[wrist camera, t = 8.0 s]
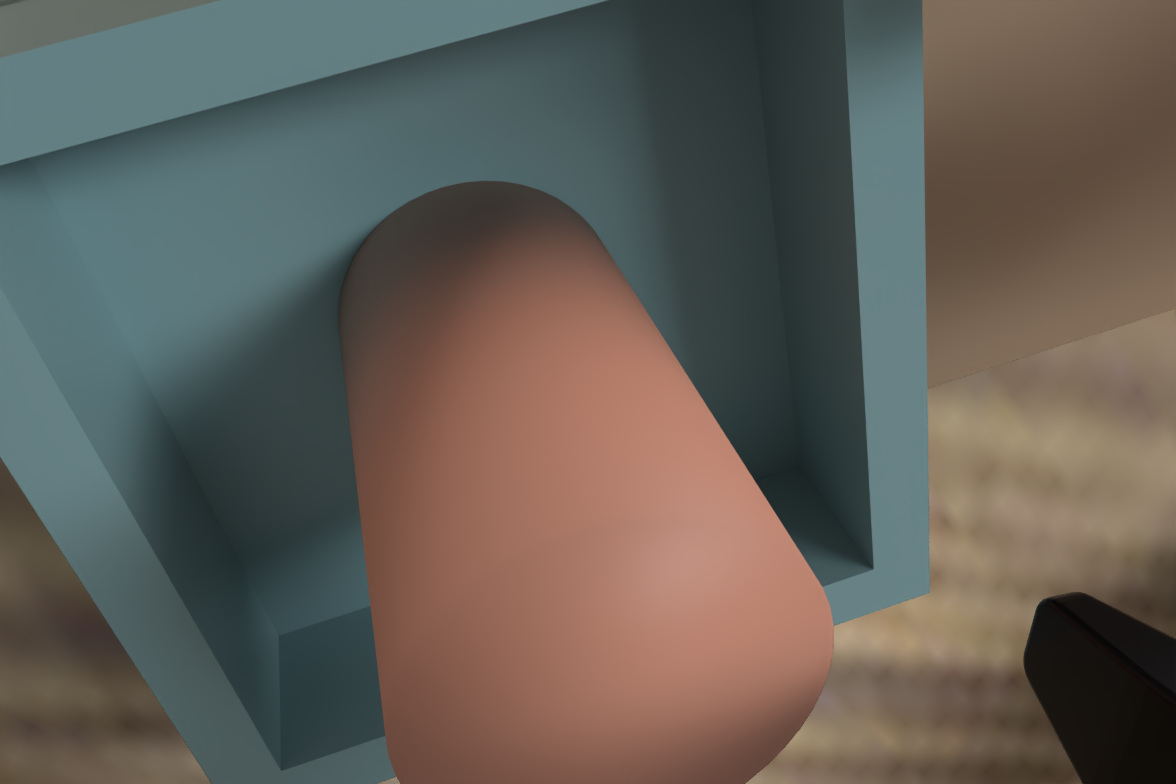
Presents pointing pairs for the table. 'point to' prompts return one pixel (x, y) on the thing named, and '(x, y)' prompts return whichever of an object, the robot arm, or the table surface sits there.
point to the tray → (335, 233)
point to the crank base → (1045, 174)
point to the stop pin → (557, 517)
